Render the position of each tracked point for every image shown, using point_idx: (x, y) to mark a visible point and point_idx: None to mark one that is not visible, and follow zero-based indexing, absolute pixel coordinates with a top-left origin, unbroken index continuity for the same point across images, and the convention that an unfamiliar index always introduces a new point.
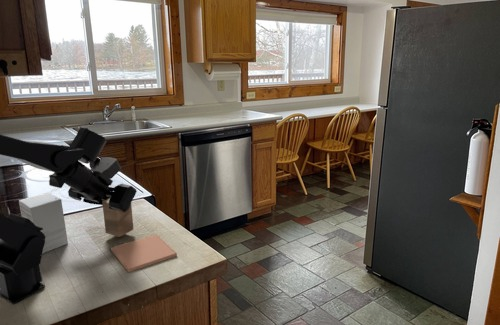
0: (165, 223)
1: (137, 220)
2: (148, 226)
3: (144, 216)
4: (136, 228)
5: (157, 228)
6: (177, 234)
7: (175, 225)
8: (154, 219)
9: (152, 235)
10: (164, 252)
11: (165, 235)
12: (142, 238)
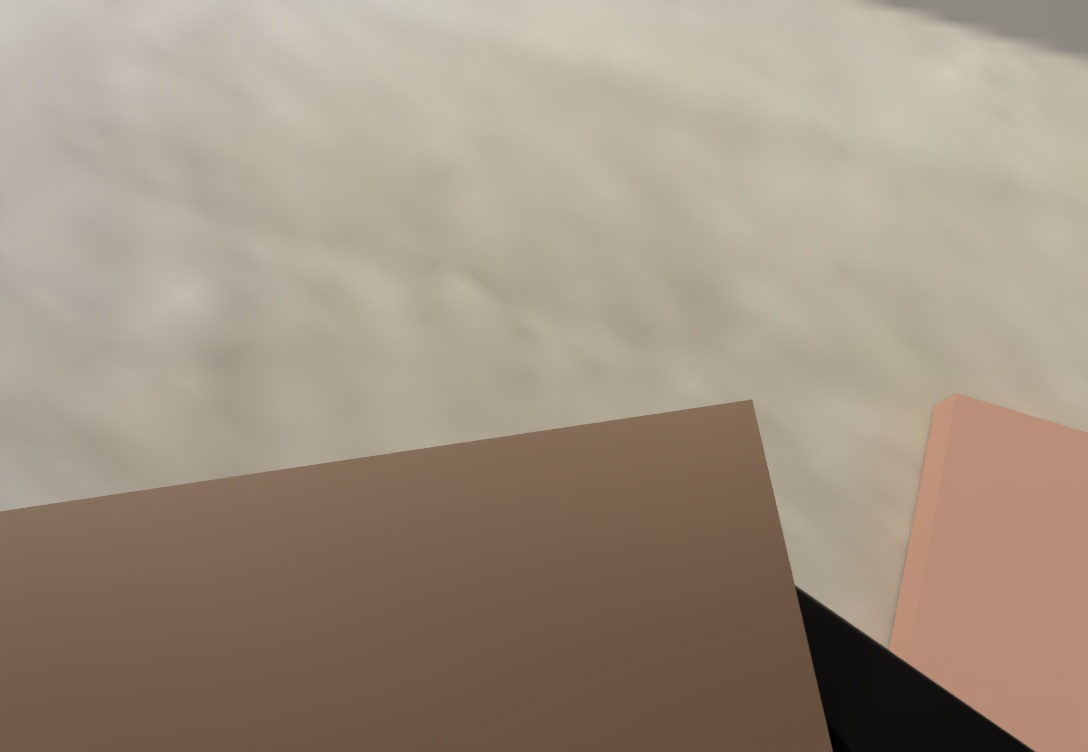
0: (658, 42)
1: (199, 208)
2: (533, 248)
3: (179, 53)
4: (432, 405)
5: (702, 215)
6: (1082, 180)
7: (826, 10)
8: (407, 40)
9: (945, 462)
10: None
11: (984, 297)
12: (915, 632)
